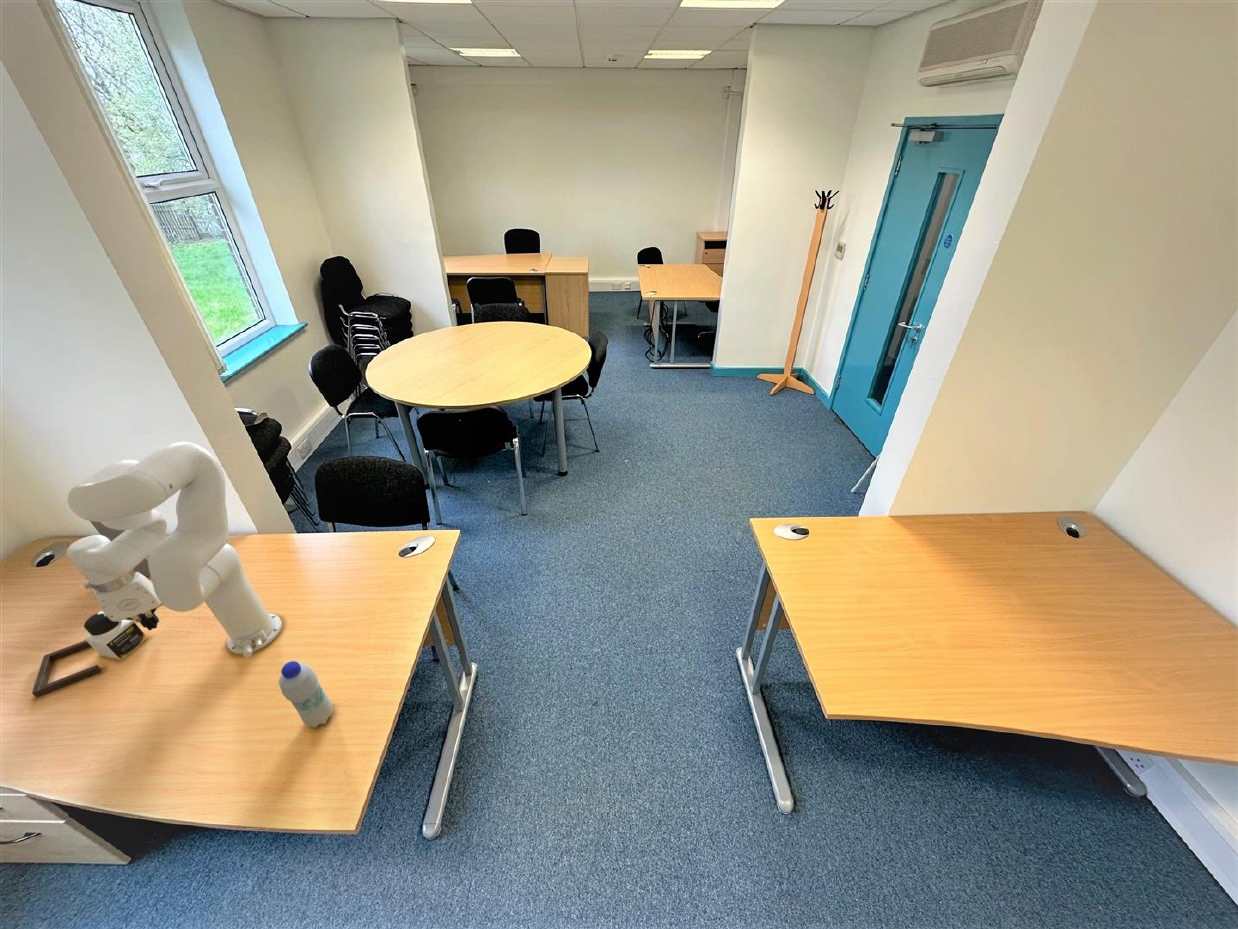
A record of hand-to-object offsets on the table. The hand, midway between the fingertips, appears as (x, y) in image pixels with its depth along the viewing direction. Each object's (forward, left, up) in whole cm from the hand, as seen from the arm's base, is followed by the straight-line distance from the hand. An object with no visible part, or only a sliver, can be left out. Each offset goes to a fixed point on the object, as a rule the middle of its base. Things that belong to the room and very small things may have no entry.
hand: (153, 625), depth 132 cm
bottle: (-52, -33, -3) cm, 62 cm away
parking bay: (0, +17, -3) cm, 17 cm away
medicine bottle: (0, +7, -3) cm, 8 cm away
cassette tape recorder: (+36, +4, -3) cm, 36 cm away
